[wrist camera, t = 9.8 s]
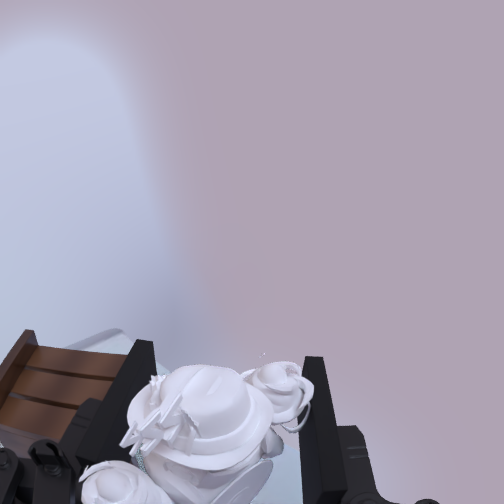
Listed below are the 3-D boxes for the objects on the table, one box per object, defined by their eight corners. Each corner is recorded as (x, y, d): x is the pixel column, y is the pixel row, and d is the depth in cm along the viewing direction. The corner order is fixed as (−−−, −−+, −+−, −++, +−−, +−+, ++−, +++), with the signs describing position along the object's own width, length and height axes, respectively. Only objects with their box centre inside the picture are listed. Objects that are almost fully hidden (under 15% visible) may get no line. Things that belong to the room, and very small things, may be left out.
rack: (154, 407, 34) (143, 340, 30) (145, 493, 22) (122, 435, 19) (49, 394, 32) (25, 329, 28) (19, 467, 20) (-24, 403, 17)
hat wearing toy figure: (176, 603, 7) (61, 515, 3) (119, 549, 9) (-7, 371, 5) (301, 495, 13) (359, 301, 9) (244, 460, 16) (256, 265, 12)
